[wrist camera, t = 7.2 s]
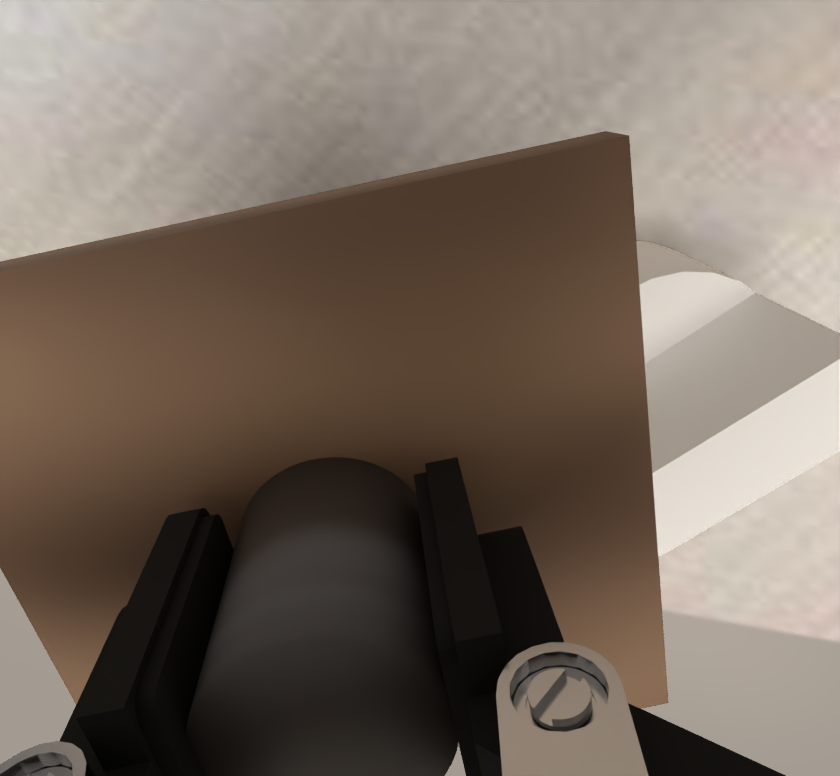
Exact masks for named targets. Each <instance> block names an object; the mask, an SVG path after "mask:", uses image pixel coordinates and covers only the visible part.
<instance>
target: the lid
mask: <svg viewBox="0 0 840 776" xmlns="http://www.w3.org/2000/svg"><path fill="white" fill-rule="evenodd" d="M455 457H457V458H458V461H459V465H460V469H461V473H462V477H463V481H464V484H465V488H466V492H467V496H468V500H469V504H470V508H471V512H472V515H473V519H474V523H475V527H476V531H477V535H478V534H483V533H488V532H493V531H498V530H503V529H508V528H513V527H518V526H521V527H522V528H523V530H524V533H525V535H526V538H527V541H528V544H529V546H530V549H531V552H532V555H533V557H534V560H535V563H536V566H537V568H538V571H539V574H540V576H541V579H542V582H543V585H544V587H545V590H546V593H547V596H548V598H549V601H550V604H551V607H552V609H553V612H554V615H555V618H556V620H557V623H558V626H559V628H560V631H561V634H562V637H563V639H564V642H569V643H573V644H577V645H581V646H585V647H587V648H589V649H591V650H593V651H595V652H597V653H599V654H600V655H602V656H603V657H604V658H605V659H606V660H607V661H608V662H609V663H610V664H611V665H612V666H613V667H614V668H615V670H616V672H617V674H618V676H619V678H620V680H621V682H622V685H623V688H624V692H625V695H626V699H627V702H628V703H629V704H631V705H633V706H636V707H638V708H640V709H641V708H646V707H651V706H656V705H660V704H665V703H668V691H667V676H666V663H665V648H664V633H663V619H662V604H661V590H660V576H659V561H658V547H657V532H656V518H655V504H654V489H653V475H652V460H651V446H650V431H649V417H648V403H647V388H646V374H645V359H644V345H643V331H642V316H641V302H640V287H639V273H638V259H637V244H636V230H635V215H634V201H633V187H632V172H631V158H630V143H629V136H628V135H622V134H617V133H612V132H606V131H605V132H600V133H596V134H591V135H586V136H582V137H577V138H572V139H568V140H563V141H559V142H554V143H549V144H545V145H540V146H535V147H531V148H526V149H521V150H517V151H512V152H507V153H503V154H498V155H494V156H489V157H484V158H480V159H475V160H470V161H466V162H461V163H456V164H452V165H447V166H442V167H438V168H433V169H429V170H424V171H419V172H415V173H410V174H405V175H401V176H396V177H391V178H387V179H382V180H377V181H373V182H368V183H364V184H359V185H354V186H350V187H345V188H340V189H336V190H331V191H326V192H322V193H317V194H313V195H308V196H303V197H299V198H294V199H289V200H285V201H280V202H275V203H271V204H266V205H261V206H257V207H252V208H248V209H243V210H238V211H234V212H229V213H224V214H220V215H215V216H210V217H206V218H201V219H196V220H192V221H187V222H183V223H178V224H173V225H169V226H164V227H159V228H155V229H150V230H145V231H141V232H136V233H131V234H127V235H122V236H118V237H113V238H108V239H104V240H99V241H94V242H90V243H85V244H80V245H76V246H71V247H66V248H62V249H57V250H53V251H48V252H43V253H39V254H34V255H29V256H25V257H20V258H15V259H11V260H6V261H2V262H0V568H1V570H2V572H3V573H4V575H5V577H6V579H7V580H8V582H9V584H10V586H11V588H12V590H13V591H14V593H15V595H16V597H17V599H18V600H19V602H20V604H21V606H22V608H23V609H24V611H25V613H26V615H27V617H28V618H29V620H30V622H31V624H32V626H33V627H34V629H35V631H36V633H37V635H38V636H39V638H40V640H41V642H42V644H43V646H44V647H45V649H46V651H47V653H48V655H49V656H50V658H51V660H52V662H53V664H54V665H55V667H56V669H57V671H58V673H59V674H60V676H61V678H62V680H63V681H64V684H65V685H66V687H67V689H68V691H69V693H70V694H71V696H72V698H73V700H74V702H75V703H76V705H77V702H78V700H79V698H80V696H81V694H82V692H83V689H84V687H85V685H86V683H87V681H88V679H89V676H90V674H91V672H92V670H93V668H94V666H95V663H96V661H97V659H98V657H99V655H100V653H101V650H102V648H103V646H104V644H105V642H106V640H107V637H108V635H109V633H110V631H111V629H112V627H113V624H114V622H115V620H116V618H117V616H118V614H119V613H120V611H121V610H122V608H123V607H125V606H127V604H128V601H129V599H130V597H131V595H132V593H133V590H134V588H135V586H136V584H137V582H138V579H139V577H140V575H141V573H142V571H143V568H144V566H145V564H146V562H147V559H148V557H149V555H150V553H151V551H152V548H153V546H154V544H155V542H156V540H157V537H158V535H159V533H160V531H161V529H162V526H163V524H164V522H165V520H166V518H167V517H168V515H171V514H175V513H180V512H185V511H190V510H195V509H200V508H205V509H207V511H208V512H209V514H210V515H215V514H218V515H220V517H221V518H222V520H223V523H224V525H225V528H226V531H227V534H228V536H229V539H230V542H231V545H232V548H233V550H234V551H233V555H232V559H231V562H230V566H229V570H228V573H227V577H226V581H225V584H224V588H223V592H222V595H221V599H220V603H219V606H218V610H217V614H216V617H215V621H214V625H213V628H212V632H211V636H210V639H209V643H208V647H207V650H206V654H205V658H204V661H203V665H202V669H201V672H200V676H199V680H198V683H197V687H196V690H195V694H194V698H193V701H192V705H191V709H190V712H189V716H188V720H187V726H186V731H185V734H186V736H187V738H188V740H189V743H190V745H191V747H192V749H193V751H194V754H195V756H196V758H197V760H198V762H199V765H200V767H201V769H202V771H203V773H204V776H444V775H445V774H446V772H447V771H448V769H449V767H450V765H451V764H452V761H453V759H454V756H455V754H456V751H457V747H460V746H459V742H458V738H457V733H456V729H455V725H454V720H453V716H452V712H451V707H450V703H449V698H448V694H447V690H446V685H445V681H444V677H443V672H442V668H441V663H440V659H439V653H438V648H437V643H436V637H435V631H434V623H433V616H432V609H431V601H430V594H429V586H428V579H427V571H426V564H425V556H424V549H423V541H422V534H421V526H420V519H419V511H418V504H417V496H416V489H415V481H414V474H419V473H424V472H426V467H425V463H430V462H435V461H440V460H445V459H450V458H455Z"/></svg>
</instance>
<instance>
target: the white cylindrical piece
mask: <svg viewBox="0 0 840 776" xmlns="http://www.w3.org/2000/svg"><path fill="white" fill-rule="evenodd" d="M636 244H637V259H638V273H639V287H640V302H641V316H642V331H643V345H644V359H645V374H646V388H647V403H648V417H649V431H650V446H651V460H652V475H653V489H654V504H655V518H656V532H657V547H658V556H659V557H660V556H662V555H664V554H665V553H667V552H669V551H671V550H672V549H674V548H676V547H677V546H679V545H681V544H682V543H684V542H686V541H688V540H689V539H691V538H693V537H694V536H696V535H698V534H699V533H701V532H703V531H705V530H706V529H708V528H710V527H711V526H713V525H715V524H716V523H718V522H720V521H722V520H723V519H725V518H727V517H728V516H730V515H732V514H733V513H735V512H737V511H739V510H740V509H742V508H744V507H745V506H747V505H749V504H750V503H752V502H754V501H756V500H757V499H759V498H761V497H762V496H764V495H766V494H767V493H769V492H771V491H773V490H774V489H776V488H778V487H779V486H781V485H783V484H785V483H786V482H788V481H790V480H791V479H793V478H795V477H796V476H798V475H800V474H802V473H803V472H805V471H807V470H808V469H810V468H812V467H813V466H815V465H817V464H819V463H820V462H822V461H824V460H825V459H827V458H829V457H830V456H832V455H834V454H836V453H837V452H839V451H840V333H837V332H835V331H833V330H831V329H829V328H827V327H825V326H823V325H821V324H819V323H817V322H815V321H813V320H811V319H809V318H807V317H805V316H803V315H801V314H798V313H796V312H794V311H792V310H790V309H788V308H786V307H784V306H782V305H780V304H778V303H776V302H774V301H772V300H770V299H768V298H766V297H764V296H762V295H760V294H757V293H756V292H754V291H753V290H751V289H750V288H749V287H747V286H746V285H745V284H743V283H742V282H740V281H738V280H736V279H734V278H732V277H730V276H728V275H726V274H724V273H722V272H719V271H717V270H715V269H713V268H711V267H709V266H707V265H705V264H703V263H701V262H699V261H696V260H694V259H692V258H690V257H688V256H686V255H684V254H682V253H680V252H678V251H676V250H673V249H671V248H668V247H665V246H662V245H659V244H656V243H653V242H646V241H636Z"/></svg>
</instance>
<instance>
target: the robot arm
mask: <svg viewBox="0 0 840 776" xmlns="http://www.w3.org/2000/svg"><path fill="white" fill-rule="evenodd" d="M425 467H426V472H424V473H419V474H414V481H415V489H416V496H417V504H418V511H419V519H420V526H421V534H422V541H423V549H424V556H425V564H426V571H427V579H428V586H429V594H430V601H431V609H432V616H433V623H434V631H435V637H436V643H437V648H438V653H439V659H440V663H441V668H442V672H443V677H444V681H445V685H446V690H447V694H448V698H449V703H450V707H451V712H452V716H453V720H454V725H455V729H456V733H457V738H458V742H459V746H460V751H461V755H462V760H463V764H464V768H465V773H466V776H785V775H783V774H781V773H779V772H776V771H774V770H772V769H770V768H768V767H766V766H763V765H761V764H759V763H757V762H755V761H753V760H751V759H748V758H746V757H744V756H742V755H740V754H737V753H735V752H733V751H731V750H729V749H727V748H725V747H722V746H720V745H718V744H716V743H714V742H712V741H709V740H707V739H705V738H703V737H701V736H699V735H696V734H694V733H692V732H690V731H688V730H685V729H683V728H681V727H679V726H676V725H675V724H672V723H670V722H667V721H666V720H664V719H662V718H659V717H657V716H655V715H653V714H651V713H648V712H646V711H644V710H642V709H640V708H638V707H636V706H633V705H631V704H629V703H628V702H627V699H626V695H625V692H624V688H623V685H622V682H621V680H620V678H619V676H618V674H617V672H616V670H615V668H614V667H613V666H612V665H611V664H610V663H609V662H608V661H607V660H606V659H605V658H604V657H603V656H602V655H600V654H599V653H597V652H595V651H593V650H591V649H589V648H587V647H585V646H581V645H577V644H573V643H569V642H564V639H563V637H562V634H561V631H560V628H559V626H558V623H557V620H556V618H555V615H554V612H553V609H552V607H551V604H550V601H549V598H548V596H547V593H546V590H545V587H544V585H543V582H542V579H541V576H540V574H539V571H538V568H537V566H536V563H535V560H534V557H533V555H532V552H531V549H530V546H529V544H528V541H527V538H526V535H525V533H524V530H523V528H522V527H521V526H518V527H513V528H508V529H503V530H498V531H493V532H488V533H483V534H478V535H477V531H476V527H475V523H474V519H473V515H472V512H471V508H470V504H469V500H468V496H467V492H466V488H465V484H464V481H463V477H462V473H461V469H460V465H459V461H458V458H457V457H455V458H450V459H445V460H440V461H435V462H430V463H425ZM233 551H234V550H233V548H232V545H231V542H230V539H229V536H228V534H227V531H226V528H225V525H224V523H223V520H222V518H221V517H220V515H218V514H215V515H210V514H209V512H208V511H207V509H205V508H200V509H195V510H190V511H185V512H180V513H175V514H171V515H168V517H167V518H166V520H165V522H164V524H163V526H162V529H161V531H160V533H159V535H158V537H157V540H156V542H155V544H154V546H153V548H152V551H151V553H150V555H149V557H148V559H147V562H146V564H145V566H144V568H143V571H142V573H141V575H140V577H139V579H138V582H137V584H136V586H135V588H134V590H133V593H132V595H131V597H130V599H129V601H128V604H127V606H125V607H123V608H122V610H121V611H120V613H119V614H118V616H117V618H116V620H115V622H114V624H113V627H112V629H111V631H110V633H109V635H108V637H107V640H106V642H105V644H104V646H103V648H102V650H101V653H100V655H99V657H98V659H97V661H96V663H95V666H94V668H93V670H92V672H91V674H90V676H89V679H88V681H87V683H86V685H85V687H84V689H83V692H82V694H81V696H80V698H79V700H78V702H77V705H76V707H75V709H74V711H73V713H72V715H71V718H70V720H69V722H68V724H67V726H66V728H65V731H64V733H63V735H62V737H61V739H60V741H56V742H50V743H44V744H39V745H37V746H34V747H32V748H29V749H27V750H25V751H22V752H20V753H19V754H17V755H15V756H13V757H12V758H10V759H8V760H7V761H5V762H3V763H2V764H1V765H0V776H204V773H203V771H202V769H201V767H200V765H199V762H198V760H197V758H196V756H195V754H194V751H193V749H192V747H191V745H190V743H189V740H188V738H187V736H186V734H185V731H186V726H187V720H188V716H189V712H190V709H191V705H192V701H193V698H194V694H195V690H196V687H197V683H198V680H199V676H200V672H201V669H202V665H203V661H204V658H205V654H206V650H207V647H208V643H209V639H210V636H211V632H212V628H213V625H214V621H215V617H216V614H217V610H218V606H219V603H220V599H221V595H222V592H223V588H224V584H225V581H226V577H227V573H228V570H229V566H230V562H231V559H232V555H233Z"/></svg>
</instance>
